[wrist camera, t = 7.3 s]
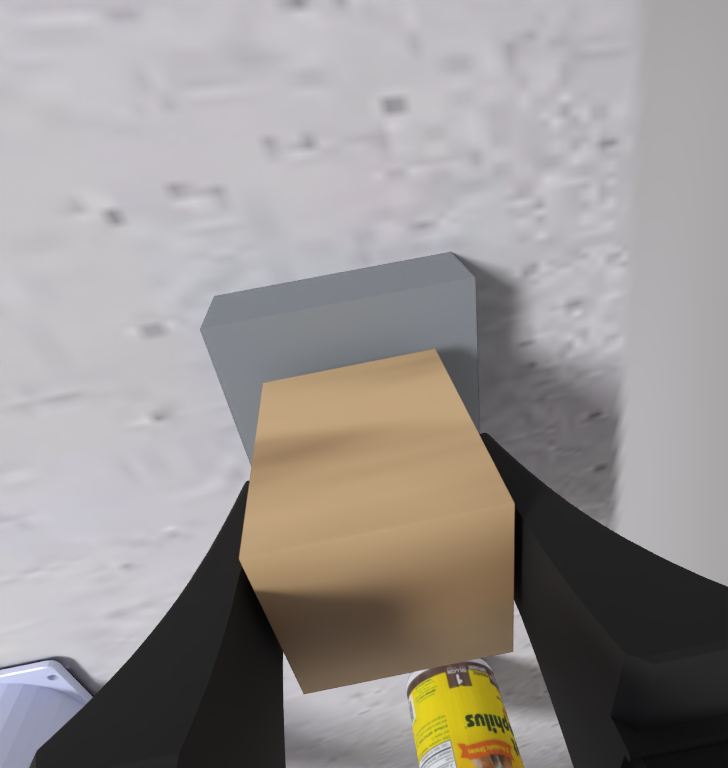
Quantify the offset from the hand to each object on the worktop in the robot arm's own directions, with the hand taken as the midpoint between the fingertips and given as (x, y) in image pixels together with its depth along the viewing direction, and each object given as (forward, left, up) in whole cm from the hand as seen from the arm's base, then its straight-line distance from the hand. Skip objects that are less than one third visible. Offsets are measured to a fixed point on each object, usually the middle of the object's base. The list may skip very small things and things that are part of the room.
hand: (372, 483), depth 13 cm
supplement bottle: (-23, -2, -6) cm, 24 cm away
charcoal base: (0, 0, -6) cm, 6 cm away
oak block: (0, 0, -2) cm, 2 cm away
